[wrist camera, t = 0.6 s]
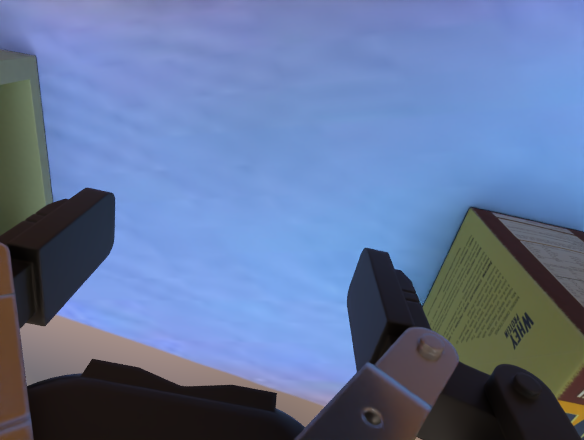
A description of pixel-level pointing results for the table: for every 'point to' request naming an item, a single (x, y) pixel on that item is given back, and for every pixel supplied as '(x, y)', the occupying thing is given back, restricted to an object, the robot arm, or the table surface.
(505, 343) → the protein box
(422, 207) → the table surface
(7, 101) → the shelf
